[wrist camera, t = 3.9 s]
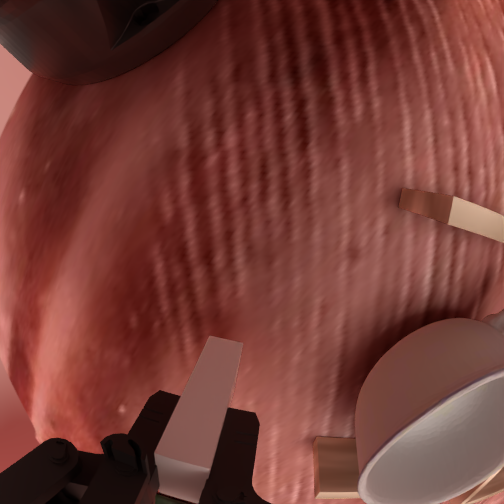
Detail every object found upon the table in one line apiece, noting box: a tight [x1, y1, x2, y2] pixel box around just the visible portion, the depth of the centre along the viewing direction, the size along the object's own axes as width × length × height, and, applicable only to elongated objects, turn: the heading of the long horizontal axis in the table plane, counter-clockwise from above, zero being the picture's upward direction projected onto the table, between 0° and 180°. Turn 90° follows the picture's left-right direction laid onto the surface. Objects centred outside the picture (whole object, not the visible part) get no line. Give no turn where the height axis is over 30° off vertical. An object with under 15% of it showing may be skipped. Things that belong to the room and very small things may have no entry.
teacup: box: [355, 309, 504, 504], centre depth 11 cm, size 14×11×8 cm
